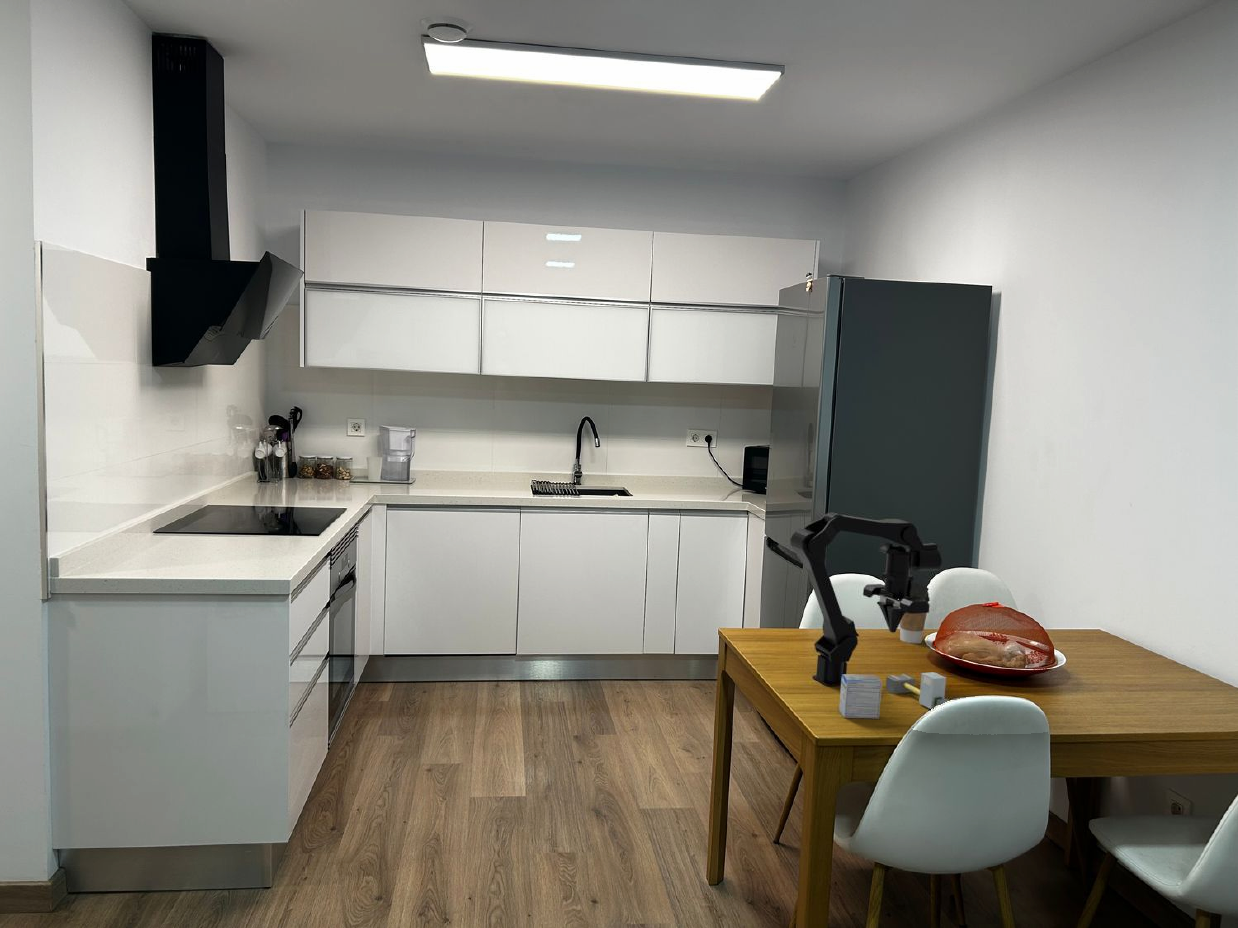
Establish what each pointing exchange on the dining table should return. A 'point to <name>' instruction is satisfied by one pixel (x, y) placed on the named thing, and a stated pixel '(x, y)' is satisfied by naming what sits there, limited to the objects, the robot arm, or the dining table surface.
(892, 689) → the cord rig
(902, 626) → the coffee cup
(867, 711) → the medicine box
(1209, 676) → the dining table surface
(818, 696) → the dining table surface
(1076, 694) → the dining table surface
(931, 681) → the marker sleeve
